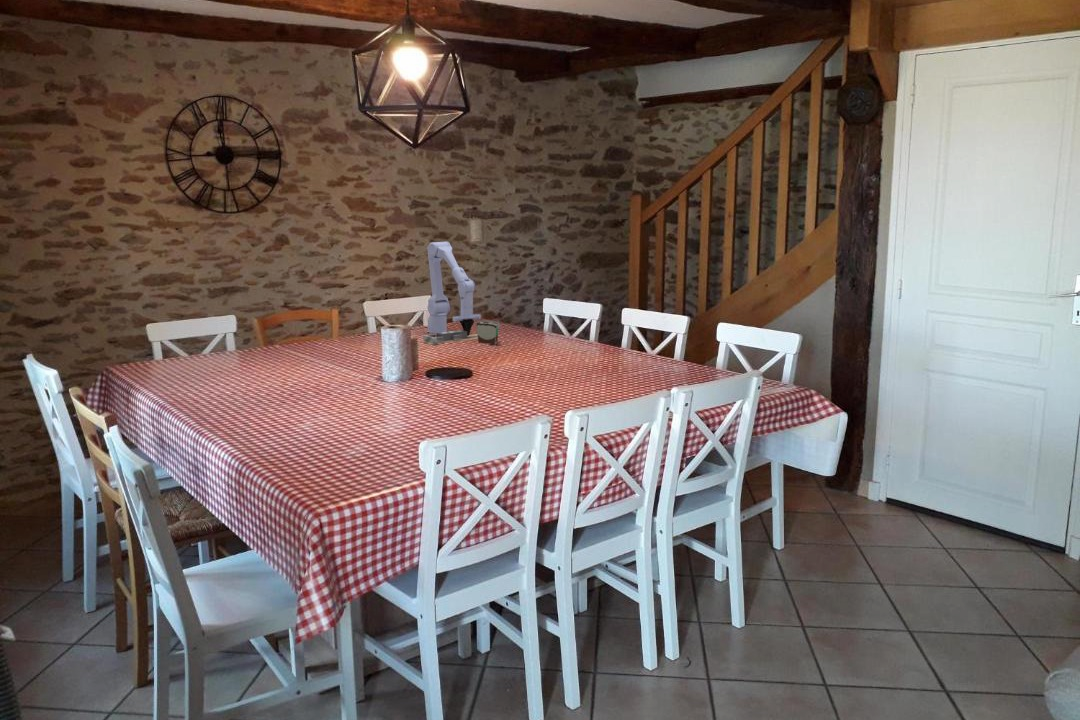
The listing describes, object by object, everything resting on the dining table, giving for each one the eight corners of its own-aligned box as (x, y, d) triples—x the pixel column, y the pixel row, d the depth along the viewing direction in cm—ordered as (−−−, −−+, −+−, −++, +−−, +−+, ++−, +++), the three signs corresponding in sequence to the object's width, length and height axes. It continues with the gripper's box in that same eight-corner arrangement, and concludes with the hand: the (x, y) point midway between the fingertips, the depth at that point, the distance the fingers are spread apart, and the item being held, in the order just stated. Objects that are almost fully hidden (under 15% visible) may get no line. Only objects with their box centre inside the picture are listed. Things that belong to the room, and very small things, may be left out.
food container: (505, 343, 380) (505, 322, 378) (497, 346, 375) (497, 324, 373) (483, 341, 386) (483, 319, 384) (475, 343, 381) (475, 321, 379)
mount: (421, 342, 382) (420, 335, 381) (480, 334, 402) (480, 328, 402) (432, 345, 374) (432, 338, 374) (492, 337, 395) (492, 331, 394)
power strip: (436, 340, 384) (436, 332, 383) (461, 337, 392) (461, 329, 392) (441, 341, 380) (441, 334, 380) (467, 338, 389) (467, 331, 388)
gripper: (458, 308, 381) (458, 338, 384) (484, 306, 390) (484, 334, 393) (449, 307, 386) (450, 335, 389) (475, 304, 395) (476, 332, 398)
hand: (466, 335), depth 391 cm, fingers closed
